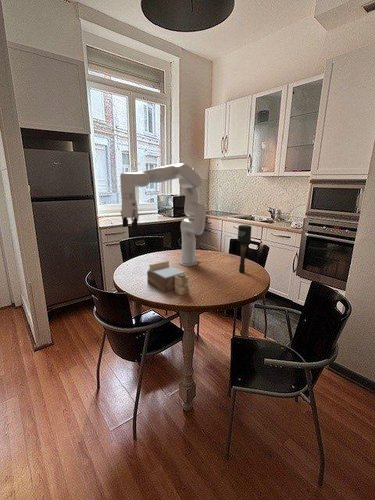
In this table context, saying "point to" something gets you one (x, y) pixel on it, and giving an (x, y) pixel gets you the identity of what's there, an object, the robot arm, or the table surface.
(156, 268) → the lid
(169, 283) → the toolbox
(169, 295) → the table surface
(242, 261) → the potato masher grenade
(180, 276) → the cream upright block
